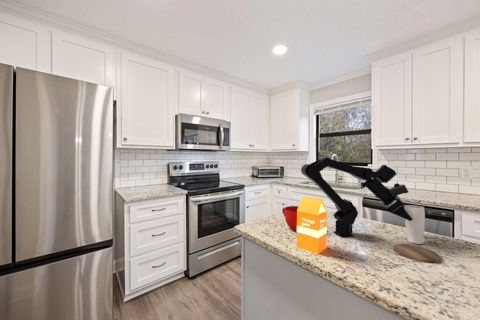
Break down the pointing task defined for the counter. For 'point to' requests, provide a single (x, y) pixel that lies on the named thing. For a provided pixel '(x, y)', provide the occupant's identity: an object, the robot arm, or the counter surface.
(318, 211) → the orange juice
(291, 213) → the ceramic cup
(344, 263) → the counter surface
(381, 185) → the robot arm
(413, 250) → the walnut coaster
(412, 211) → the white tapered cylinder
